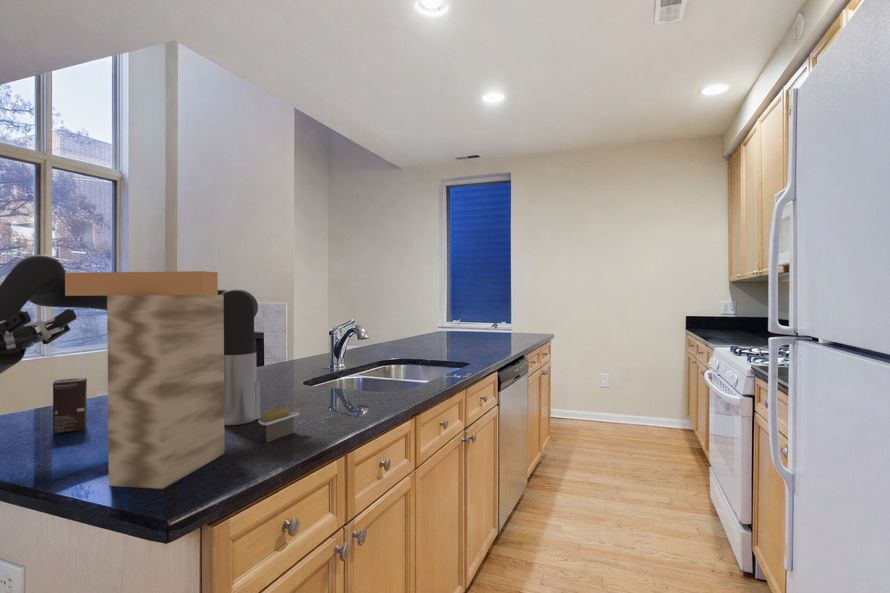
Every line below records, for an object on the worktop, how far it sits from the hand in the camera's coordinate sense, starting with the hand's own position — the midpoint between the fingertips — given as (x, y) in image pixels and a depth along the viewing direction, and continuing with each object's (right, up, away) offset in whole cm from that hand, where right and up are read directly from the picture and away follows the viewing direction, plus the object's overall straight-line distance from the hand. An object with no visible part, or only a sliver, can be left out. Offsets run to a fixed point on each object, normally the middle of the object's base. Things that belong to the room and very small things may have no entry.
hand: (51, 314), depth 84 cm
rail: (+18, +3, -2) cm, 18 cm away
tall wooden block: (+20, -29, +2) cm, 35 cm away
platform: (+33, -29, +21) cm, 49 cm away
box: (-18, -29, +26) cm, 43 cm away
